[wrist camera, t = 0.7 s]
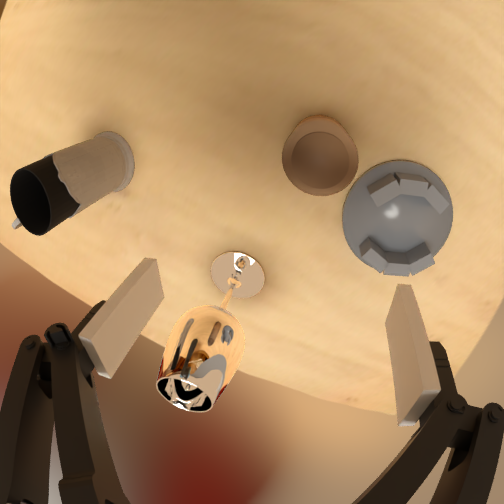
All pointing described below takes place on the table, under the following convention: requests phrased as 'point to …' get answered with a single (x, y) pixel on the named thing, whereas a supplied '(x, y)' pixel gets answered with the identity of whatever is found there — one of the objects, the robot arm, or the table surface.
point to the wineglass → (209, 339)
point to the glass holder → (70, 181)
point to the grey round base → (397, 217)
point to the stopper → (320, 156)
